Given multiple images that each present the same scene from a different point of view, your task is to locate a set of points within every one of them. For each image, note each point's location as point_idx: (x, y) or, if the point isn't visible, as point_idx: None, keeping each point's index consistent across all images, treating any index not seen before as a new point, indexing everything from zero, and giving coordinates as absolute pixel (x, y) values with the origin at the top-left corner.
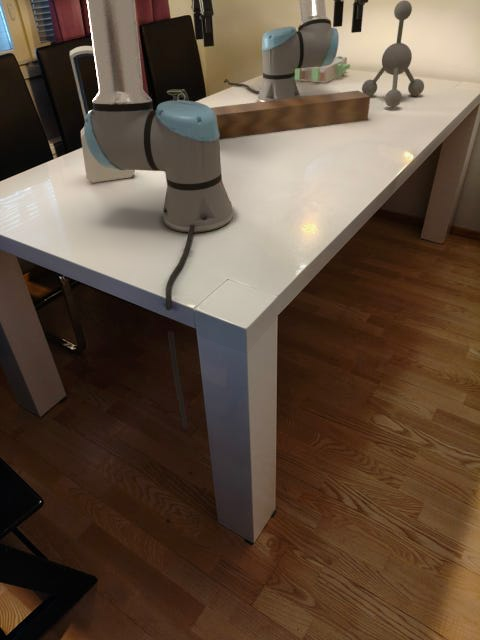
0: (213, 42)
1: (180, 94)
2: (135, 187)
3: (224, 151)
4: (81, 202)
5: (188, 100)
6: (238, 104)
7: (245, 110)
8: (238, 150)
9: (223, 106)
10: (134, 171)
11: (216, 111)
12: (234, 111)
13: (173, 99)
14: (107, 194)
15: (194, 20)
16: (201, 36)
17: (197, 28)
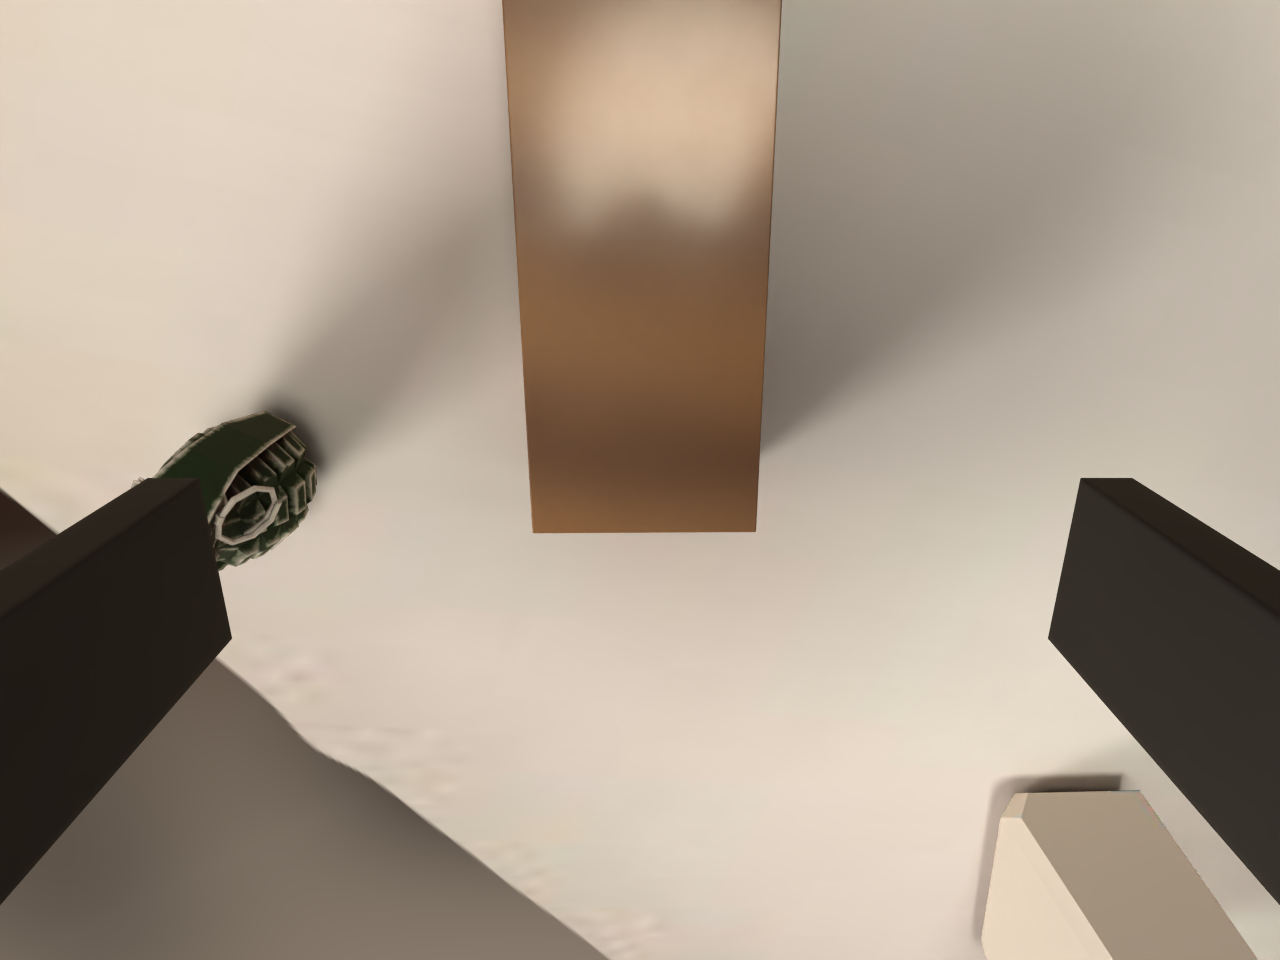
0: (1167, 506)
1: (215, 525)
2: None
3: (1002, 290)
4: (1263, 954)
5: (209, 440)
6: (505, 21)
7: (742, 8)
8: (1033, 195)
9: (522, 184)
10: (1141, 794)
11: (657, 280)
12: (729, 123)
13: None
14: (1246, 876)
15: (9, 885)
16: (186, 560)
17: (110, 707)
